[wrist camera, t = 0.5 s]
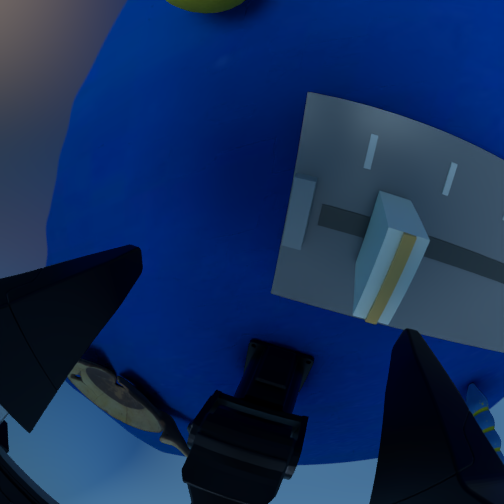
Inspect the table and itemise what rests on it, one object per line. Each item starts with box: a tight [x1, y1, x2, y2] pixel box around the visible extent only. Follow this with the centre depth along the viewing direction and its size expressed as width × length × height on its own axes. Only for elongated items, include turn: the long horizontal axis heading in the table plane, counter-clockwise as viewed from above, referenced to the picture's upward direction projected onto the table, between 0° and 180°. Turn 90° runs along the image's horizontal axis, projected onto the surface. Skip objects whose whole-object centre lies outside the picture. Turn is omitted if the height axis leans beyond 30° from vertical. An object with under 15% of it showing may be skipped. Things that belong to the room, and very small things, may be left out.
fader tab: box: [353, 191, 430, 325], centre depth 14 cm, size 5×2×5 cm, turn 173°
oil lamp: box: [68, 358, 190, 457], centre depth 45 cm, size 22×30×8 cm
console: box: [271, 92, 504, 353], centre depth 15 cm, size 14×24×3 cm, turn 83°
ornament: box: [465, 383, 504, 464], centre depth 16 cm, size 5×5×15 cm
